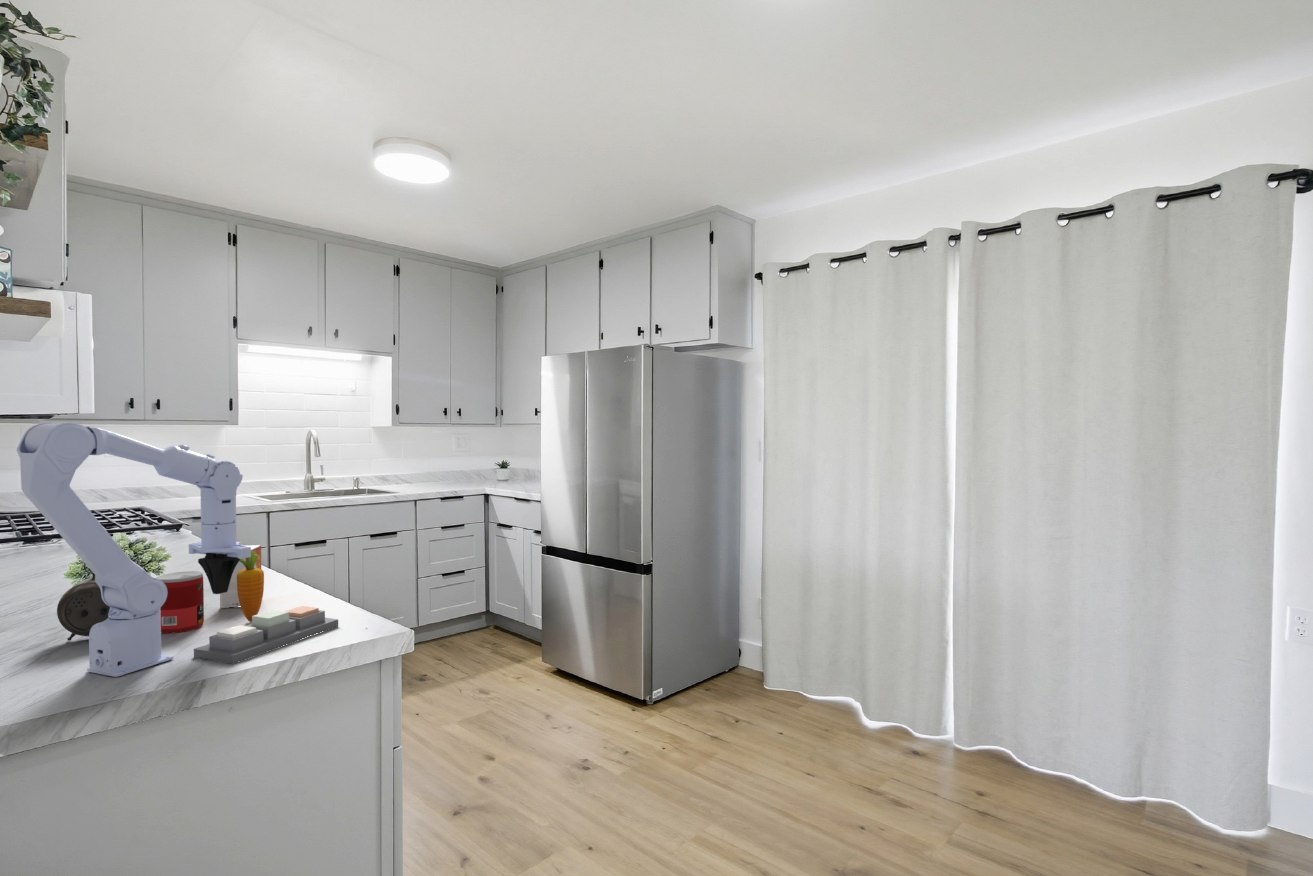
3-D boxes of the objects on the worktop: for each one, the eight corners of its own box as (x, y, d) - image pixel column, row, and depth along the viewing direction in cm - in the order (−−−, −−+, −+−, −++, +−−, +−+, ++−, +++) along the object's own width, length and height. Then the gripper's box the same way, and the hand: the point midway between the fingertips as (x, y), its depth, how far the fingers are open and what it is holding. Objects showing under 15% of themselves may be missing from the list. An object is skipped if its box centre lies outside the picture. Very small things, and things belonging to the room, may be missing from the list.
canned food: (208, 627, 139) (207, 574, 138) (161, 636, 133) (160, 581, 132) (198, 620, 144) (197, 569, 144) (152, 628, 138) (151, 575, 138)
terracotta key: (300, 623, 133) (300, 613, 133) (284, 621, 135) (284, 611, 135) (318, 617, 138) (318, 608, 137) (302, 615, 139) (302, 605, 139)
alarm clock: (134, 632, 136) (132, 552, 135) (125, 640, 131) (124, 557, 130) (65, 639, 131) (63, 557, 131) (53, 648, 126) (51, 562, 126)
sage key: (268, 628, 127) (268, 618, 127) (252, 626, 128) (252, 616, 128) (289, 622, 131) (288, 612, 131) (272, 620, 133) (272, 610, 132)
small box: (250, 607, 154) (249, 550, 154) (219, 608, 153) (218, 551, 152) (262, 598, 162) (261, 544, 162) (233, 599, 160) (232, 545, 160)
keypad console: (233, 664, 117) (232, 644, 117) (193, 657, 121) (193, 637, 121) (338, 626, 139) (338, 609, 139) (302, 621, 142) (302, 605, 142)
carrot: (252, 626, 139) (250, 554, 139) (231, 624, 140) (230, 553, 140) (270, 619, 144) (269, 549, 144) (250, 618, 145) (249, 549, 145)
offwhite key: (233, 645, 120) (233, 634, 120) (216, 642, 122) (216, 632, 122) (256, 638, 124) (256, 627, 124) (239, 635, 126) (239, 625, 126)
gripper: (264, 521, 130) (266, 591, 131) (212, 518, 136) (214, 584, 136) (230, 527, 124) (231, 600, 124) (177, 523, 129) (178, 593, 129)
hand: (220, 592), depth 130 cm, fingers closed
